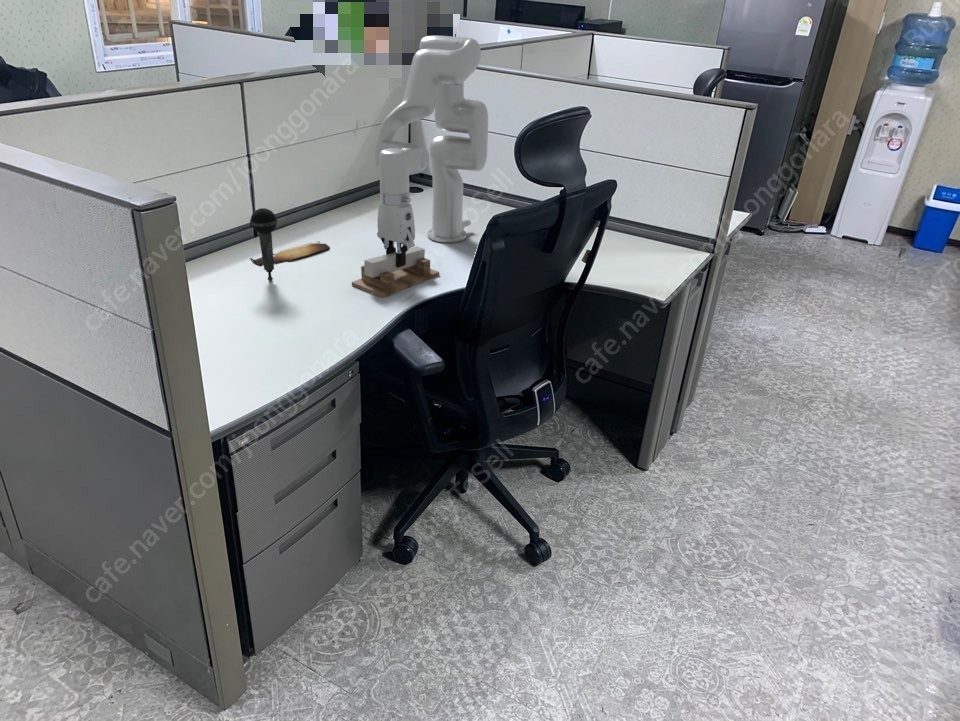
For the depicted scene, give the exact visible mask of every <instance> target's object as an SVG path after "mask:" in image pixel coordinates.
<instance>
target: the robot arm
mask: <svg viewBox="0 0 960 721" xmlns="http://www.w3.org/2000/svg"><path fill="white" fill-rule="evenodd" d="M481 58H482V50H481V46H480V43H479V42H478V41H477V40H476V39H475V38H472V37H471V38H470V37H463V36H462V37H461V36H450V35H438V34H437V35H435V34H434V35H427V36H424V37H422V38H421V40H420V41H419V50H418V51H417V50H416V52H415V53H414V55H413V57H412V61H411V65H410V70H409V74H408V78H407V81H406V86H405V91H404V95H403V98H402V101H401V103H400V104H399V105H398V106H396V107H395V108H394V109H393V110H391V111H390V113H389V114H388V115H387V116H386V117H385V119H384V120H383V121H382V122H381V125H380V126H379V129H378V132H377V137H376V141H375V144H374V150H373V151H374V152H373V158H374V162H375V165H376V166H377V167H378V168H379V169H378V170H379V196H380V197H379V198H380V201H379V202H378V210H377V233H376V235H377V237H378V239H380V240H381V242H382V244H383V248H384V250H385V255H386V254H390V253H394V252H398V253H396V267H398V268H399V267H402V266H404V265H406V252H407V251H408V249H409V248H413V247H416V245H415V242H414V240H415V239H416V228H415V227H416V226H415V216H414V210H413V206H412V204H411V201H412V199H411V198H410V176H413V175H418V174H420V173H422V172H424V171H425V169H426V168H427V167H428V164H429V160H430V164H431V170H432V171H431V174H432V175H431V176H432V208H431V209H432V212H431V213H432V217H431V218H432V221H431V222H432V224H431V225H432V226H431V229H428V231H427V238H429V239H430V240H432V241H434V242H438V243H449V244H450V243H459V242H462V241H464V240H465V239H467V236H468V234H467V231H465V228H466V227H469V226H470V225H471V224H472V222H471V220H470V219H466V220H463V209H464V207H463V204H464V202H463V201H464V180H463V178H462V176H461V174H460V172H459V170H461V171H468V172H469V171H470V172H479V171H482V170H483V169H484V168H485V166H486V163H487V157H488V140H489V139H488V138H489V136H488V134H489V113H488V108H487V106H486V105H485V103H484V102H483V101H481V100H477V99H467V98H465V96H464V95H465V94H464V93H465V92H464V84H465V83H464V82H465V81H467V79H469V77H470V76H471V75H472V74H474V72H475V71H476V70H477V68H478V66H479V65H480V62H481ZM433 113H434V122H435V126H436V127H437V129H439V130H441V131H444V132H451V133H459V134H467V135H468V136H469V137H467V136H466V137H464V136H457V135H450V134H449V135H446V134H441V135H438V136H435V137H433V138H432V140H431V142H430V144H429V152H428V150H427V149H426V147H424V146H423V145H421V144H418V143H411V142H410V143H409V142H402V141H396V140H395V141H394V138H395V136H396V134H397V133H398V132H399V130H401V129H403V127H405V126H406V125H409V124H411V123H414V122H416V121H419V120H421V119H422V120H423V119H424V118H427V117H429V116H431V115H432V114H433ZM395 243H396V247H395Z"/></svg>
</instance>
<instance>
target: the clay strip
mask: <svg viewBox="0 0 960 721" xmlns="http://www.w3.org/2000/svg"><path fill="white" fill-rule="evenodd" d="M425 250H426V249H425V248H423V247H420V246H414V247H411V248H409V249H408V251H407V252H406V265H404V266H402V267H399V268H398V267H396V253H398V252H397V251H396V252H394V253H390V254H386V253H385V254H382V255H378V256H376V257H372V258H368V259H367V258H366V259H364V264H363V266H364V275H366V276H369V277H372V278H373V277H377V276H380V274H381V273H383V272H386V271H388V272H394V271H397V270H401V269H404V268H408V267H411V266H414V265H417V260H418V259H421V258H425V254H426V252H425Z"/></svg>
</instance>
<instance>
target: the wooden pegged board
mask: <svg viewBox="0 0 960 721" xmlns="http://www.w3.org/2000/svg"><path fill="white" fill-rule="evenodd" d="M360 271H361V272H360V273H361V278H359V279H357V280H354V281H351V286H352V287H355V288H357V289H359V288H360V289H359V290H362V291H364V292H366V293H369V292H370V294H371V293H373V294H372V295H374V294H375V296H376V295H377V297H378V298H381V297H382V299H384V297H385V298H387V297H389V295H390V296H392V295H394V294H397V293H400V292H401V291H404V290H406V289H409V288H411V287H414V286H416V285H419V284H421V283H424V282H425V281H429V280H431V279H433V278H435V277H438V276H440V271H439V270H436V269H432V268H431V259H428V258H426V257H424V258H421V259H418V260H417V265H414V266H411V267H408V268H404V269H401V270H397V271H394V272H388V271H386V272H383V273H381V274H380V276H377V277H373V278H372V277H369V276H366V275H364V265H361V266H360ZM391 294H392V295H391Z"/></svg>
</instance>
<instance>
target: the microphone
mask: <svg viewBox="0 0 960 721" xmlns="http://www.w3.org/2000/svg"><path fill="white" fill-rule="evenodd" d="M249 223H250V225H251V227H252V229H253V230H254V231H255V232H257V233H258V237H259V244H260V251H261V256H262V257H261V258H263V265H262V266H263V270H264V271H265V272H267V274H268V277H267V280H268V281H269V282H272V281H273V279H274V278H273V276H272V272H273V270H275V265H274V260H273V257H274V255H273V254H274V248H273V235H272V232H273V231H274V230H275V229H276V227H277V224H278V219H277V216H276V215H275V213H274V212H273V211H272V210H271V209H268V208H258V209H255V211H253V213H252V214H251V216H250V220H249Z"/></svg>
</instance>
